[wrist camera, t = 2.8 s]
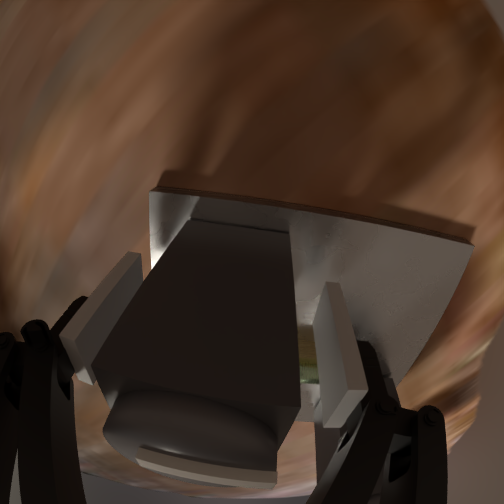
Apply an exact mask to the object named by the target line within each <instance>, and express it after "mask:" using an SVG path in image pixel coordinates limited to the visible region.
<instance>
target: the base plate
mask: <svg viewBox="0 0 504 504" xmlns="http://www.w3.org/2000/svg"><path fill="white" fill-rule="evenodd" d="M149 218H150V248H151V266H152V268H153V267H154V266H155V264H156V263H157V261H158V260H159V258H160V257H161V256H162V254H163V253H164V251H165V250H166V249H167V247H168V246H169V244H170V243H171V242H172V240H173V239H174V238H175V236H176V235H177V233H178V232H179V231H180V229H181V228H182V227H183V225H184V224H185V223H186V221H187V220H192V221H199V222H207V223H214V224H222V225H229V226H236V227H243V228H250V229H257V230H264V231H271V232H278V233H284V234H290V241H291V252H292V263H293V275H294V288H295V301H296V315H297V330H298V340H304V341H314V342H315V339H314V331H313V323H312V322H313V319H314V316H315V313H316V310H317V306H318V303H319V300H320V297H321V294H322V290H323V287H324V284H325V281H328V282H336V283H340V286H341V289H342V292H343V296H344V299H345V302H346V306H347V309H348V313H349V316H350V320H351V323H352V327H353V330H354V334H355V338H356V340H360V341H369V342H370V344H371V345H372V346H373V348H374V349H375V351H376V354H377V357H378V361H379V364H380V368H381V371H382V374H383V378H393V381H394V384H395V387H397V386H398V384H399V383H400V382H401V380H402V379H403V377H404V376H405V375H406V373H407V372H408V370H409V369H410V367H411V366H412V364H413V363H414V361H415V360H416V358H417V357H418V355H419V354H420V352H421V351H422V349H423V348H424V346H425V344H426V343H427V341H428V339H429V338H430V336H431V334H432V333H433V331H434V329H435V328H436V326H437V324H438V322H439V321H440V319H441V317H442V315H443V313H444V311H445V310H446V308H447V306H448V304H449V302H450V300H451V298H452V296H453V294H454V292H455V290H456V288H457V286H458V284H459V282H460V279H461V277H462V275H463V273H464V271H465V268H466V266H467V264H468V261H469V259H470V257H471V254H472V252H473V249H474V247H475V246H474V245H473V244H472V243H471V242H470V241H468V240H467V239H463V238H459V237H455V236H451V235H447V234H443V233H439V232H435V231H431V230H426V229H422V228H418V227H413V226H409V225H404V224H400V223H395V222H390V221H386V220H381V219H376V218H371V217H366V216H361V215H355V214H350V213H345V212H339V211H334V210H328V209H323V208H317V207H311V206H305V205H299V204H293V203H286V202H280V201H273V200H266V199H260V198H252V197H245V196H238V195H230V194H222V193H214V192H206V191H197V190H188V189H178V188H169V187H158V186H156V187H154V188H153V189H152V190H150V191H149ZM300 387H301V409H300V411H299V413H298V415H297V417H296V418H295V420H294V421H305V422H314V410H315V409H316V407H317V405H318V403H319V402H320V400H321V395H320V385H319V384H304V383H300Z"/></svg>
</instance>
